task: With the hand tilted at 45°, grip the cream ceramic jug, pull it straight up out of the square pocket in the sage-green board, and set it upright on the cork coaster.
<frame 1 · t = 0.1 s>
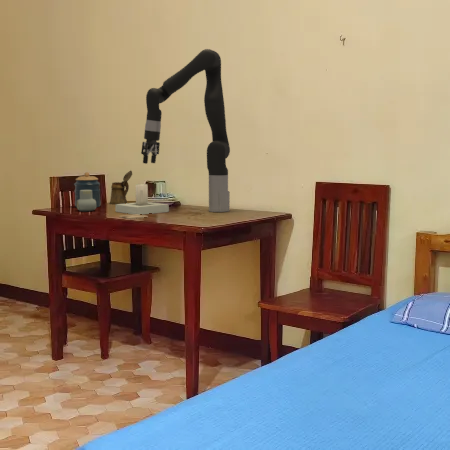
hand: (149, 163, 304), 22 cm above the table, tool pointing down, fingers open, 8 cm apart
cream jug: (141, 198, 292), in the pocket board
canister: (87, 207, 317), on the table
air freshener: (86, 211, 299), on the table
wooden mug: (121, 204, 332), on the table
cork coaster: (133, 217, 273), on the table
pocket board: (142, 211, 294), on the table
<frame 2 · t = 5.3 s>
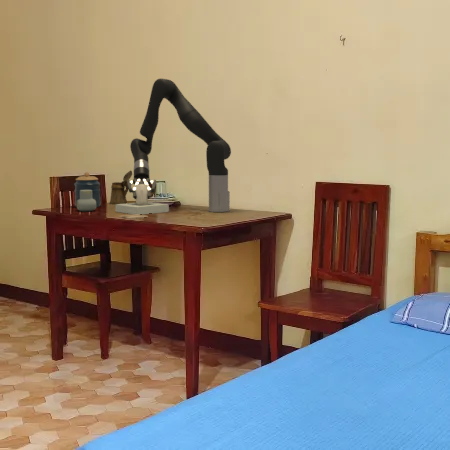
hand: (141, 197, 291), 7 cm above the table, tool tilted 45°, fingers closed on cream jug, 5 cm apart
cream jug: (141, 198, 292), in the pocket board, touching gripper
everything else where it was.
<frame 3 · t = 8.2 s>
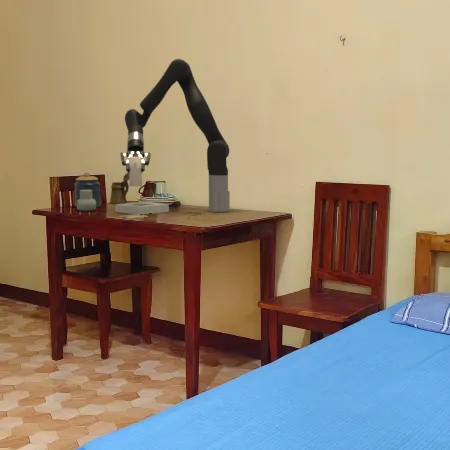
hand: (135, 171, 277), 20 cm above the table, tool tilted 45°, fingers closed on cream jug, 5 cm apart
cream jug: (135, 171, 278), point 20 cm above the table, touching gripper
everything else where it was.
when the fingers open (9 cm above the table, at t = 11.4 s): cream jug drops 1 cm, resting on cork coaster.
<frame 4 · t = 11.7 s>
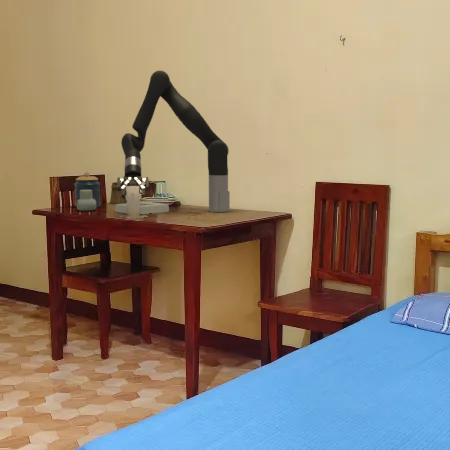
hand: (133, 196, 270), 9 cm above the table, tool tilted 45°, fingers open, 7 cm apart
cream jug: (133, 201, 271), on the cork coaster, point 7 cm above the table
everything else where it was.
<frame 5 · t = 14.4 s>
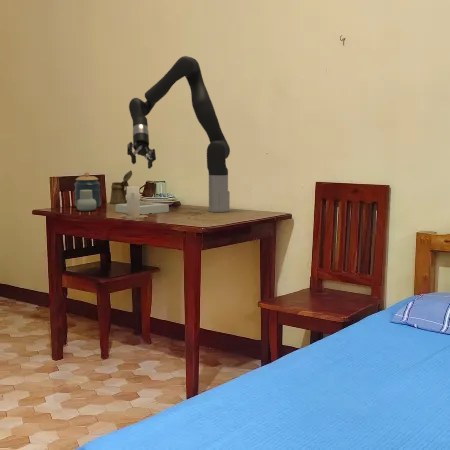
hand: (142, 165, 289), 22 cm above the table, tool tilted 30°, fingers open, 8 cm apart
nothing on the table moved.
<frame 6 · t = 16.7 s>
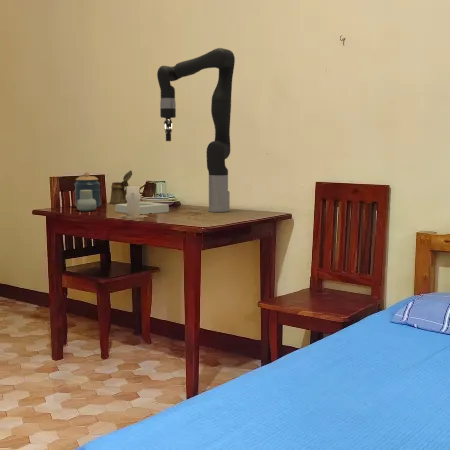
hand: (168, 141, 307), 33 cm above the table, tool pointing down, fingers open, 8 cm apart
nothing on the table moved.
at the end: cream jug inside the target area on the cork coaster (0.2 cm from its centre), point 7.1 cm above the cork coaster's base; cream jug tilted 0°; the gripper is holding nothing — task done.
